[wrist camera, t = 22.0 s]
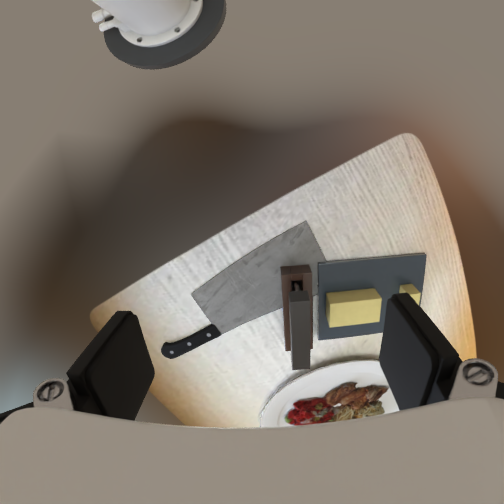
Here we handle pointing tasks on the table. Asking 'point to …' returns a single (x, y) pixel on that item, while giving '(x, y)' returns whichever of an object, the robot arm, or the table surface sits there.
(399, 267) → the butter dish
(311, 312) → the block
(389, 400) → the plated food
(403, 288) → the butter slice
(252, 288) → the cleaver
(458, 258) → the table surface
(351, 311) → the butter stick
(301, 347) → the bench scraper
